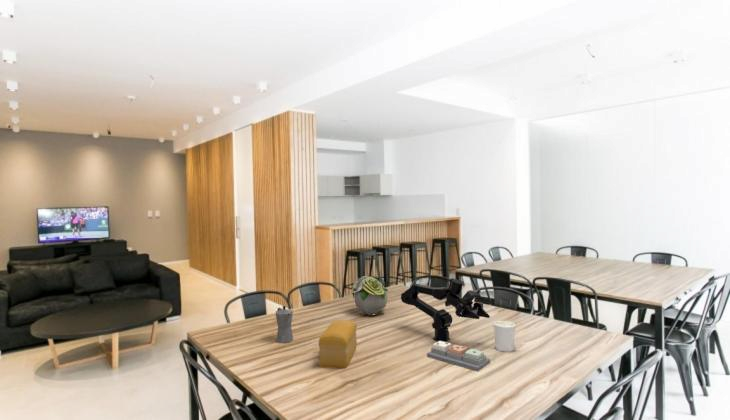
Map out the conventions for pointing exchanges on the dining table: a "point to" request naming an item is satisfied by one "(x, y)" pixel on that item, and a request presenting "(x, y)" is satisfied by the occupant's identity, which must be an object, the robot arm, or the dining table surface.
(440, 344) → the tile two dots
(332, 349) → the bread
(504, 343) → the candle holder
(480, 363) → the button board
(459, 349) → the tile three dots
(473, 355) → the tile one dot
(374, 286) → the flower arrangement
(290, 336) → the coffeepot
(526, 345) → the dining table surface
